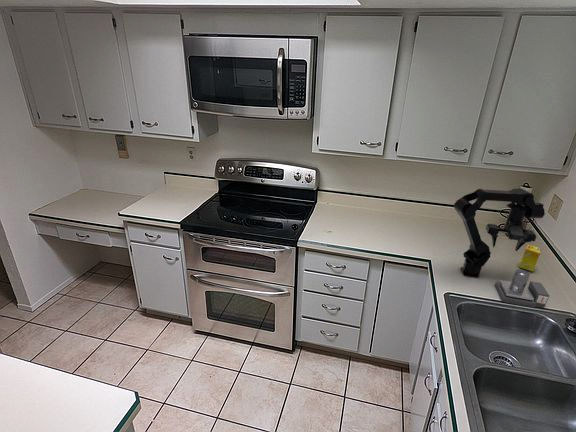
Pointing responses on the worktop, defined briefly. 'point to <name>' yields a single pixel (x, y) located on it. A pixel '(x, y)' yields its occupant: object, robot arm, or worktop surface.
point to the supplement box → (530, 258)
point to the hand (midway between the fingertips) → (504, 248)
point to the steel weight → (519, 280)
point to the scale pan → (509, 292)
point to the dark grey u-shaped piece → (537, 293)
